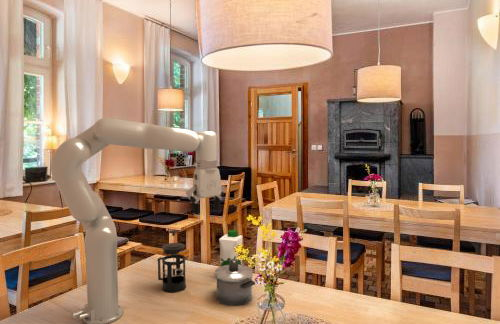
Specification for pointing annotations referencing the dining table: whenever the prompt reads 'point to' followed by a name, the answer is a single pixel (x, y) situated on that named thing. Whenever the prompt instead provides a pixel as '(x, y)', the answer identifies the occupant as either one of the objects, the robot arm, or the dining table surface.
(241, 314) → the dining table surface
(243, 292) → the pot
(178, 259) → the french press
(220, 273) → the lid
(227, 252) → the milk carton
